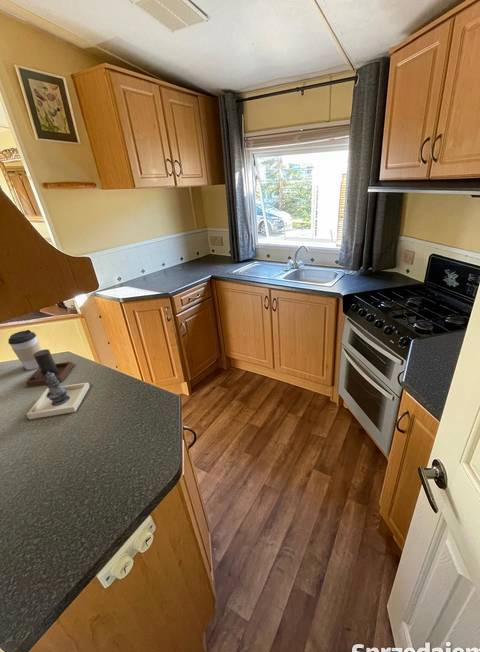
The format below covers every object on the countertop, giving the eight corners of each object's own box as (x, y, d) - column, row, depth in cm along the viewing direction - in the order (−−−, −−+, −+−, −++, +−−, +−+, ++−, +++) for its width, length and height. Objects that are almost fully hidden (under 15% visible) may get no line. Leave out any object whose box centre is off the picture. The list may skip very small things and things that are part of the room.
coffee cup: (27, 373, 116) (11, 340, 110) (18, 367, 121) (1, 335, 114) (52, 362, 123) (37, 331, 117) (42, 357, 128) (27, 326, 121)
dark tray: (27, 386, 108) (25, 382, 107) (42, 369, 118) (40, 365, 117) (61, 381, 110) (59, 377, 109) (73, 365, 120) (72, 361, 119)
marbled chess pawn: (74, 397, 100) (62, 368, 95) (57, 408, 95) (43, 378, 90) (64, 393, 102) (51, 364, 97) (46, 403, 98) (32, 374, 92)
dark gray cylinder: (41, 379, 111) (30, 357, 107) (47, 372, 116) (37, 350, 111) (55, 377, 112) (45, 355, 108) (61, 370, 116) (51, 348, 112)
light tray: (29, 419, 92) (26, 414, 91) (49, 392, 104) (46, 388, 103) (75, 411, 94) (73, 406, 93) (89, 386, 106) (88, 382, 105)
